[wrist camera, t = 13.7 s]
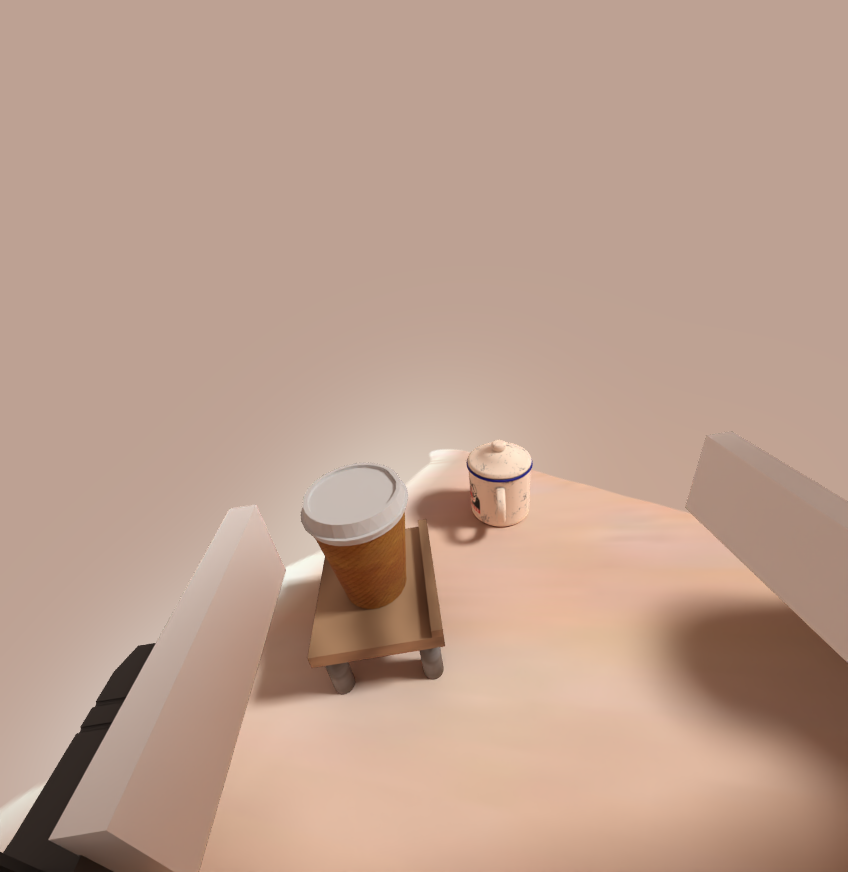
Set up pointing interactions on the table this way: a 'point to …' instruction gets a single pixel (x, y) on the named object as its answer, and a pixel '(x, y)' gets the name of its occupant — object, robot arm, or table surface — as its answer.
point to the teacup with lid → (499, 483)
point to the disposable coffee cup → (361, 530)
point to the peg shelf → (380, 619)
